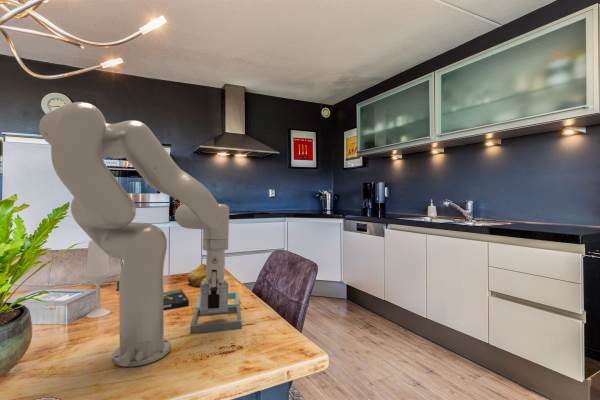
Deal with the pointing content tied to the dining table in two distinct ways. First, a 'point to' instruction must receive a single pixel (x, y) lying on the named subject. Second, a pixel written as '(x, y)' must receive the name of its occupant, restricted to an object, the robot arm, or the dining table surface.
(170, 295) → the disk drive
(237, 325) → the dock
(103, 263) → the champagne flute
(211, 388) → the dining table surface
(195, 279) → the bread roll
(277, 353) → the dining table surface
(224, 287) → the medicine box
